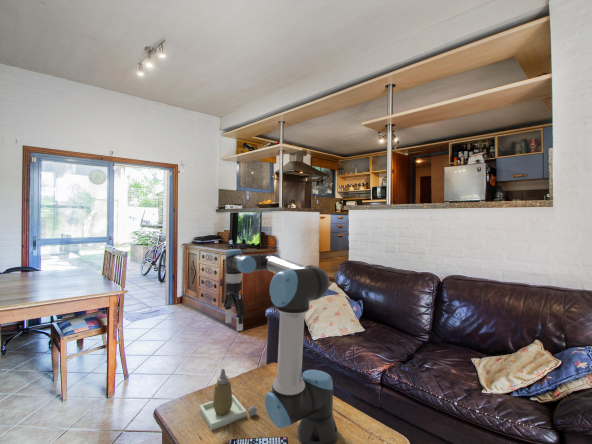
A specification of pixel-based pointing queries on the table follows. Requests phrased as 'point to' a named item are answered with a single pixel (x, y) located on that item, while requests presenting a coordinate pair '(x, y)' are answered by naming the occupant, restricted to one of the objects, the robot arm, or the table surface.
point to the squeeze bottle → (222, 395)
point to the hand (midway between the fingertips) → (233, 326)
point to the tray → (219, 421)
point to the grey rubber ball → (252, 411)
